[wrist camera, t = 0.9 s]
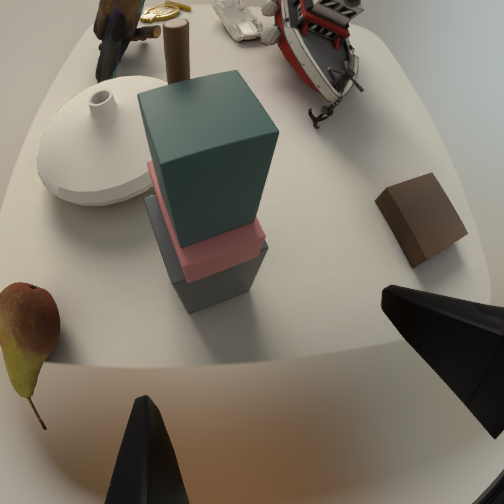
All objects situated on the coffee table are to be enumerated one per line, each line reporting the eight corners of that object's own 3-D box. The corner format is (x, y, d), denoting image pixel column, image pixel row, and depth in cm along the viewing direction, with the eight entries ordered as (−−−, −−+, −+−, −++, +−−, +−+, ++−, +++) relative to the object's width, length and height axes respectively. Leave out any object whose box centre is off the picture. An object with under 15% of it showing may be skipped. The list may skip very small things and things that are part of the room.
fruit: (-2, 290, 13) (-5, 436, 13) (74, 307, 18) (57, 438, 17) (-3, 267, 17) (-13, 394, 16) (57, 283, 21) (40, 400, 21)
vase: (49, 125, 27) (28, 82, 21) (176, 83, 31) (173, 34, 24) (52, 244, 23) (11, 206, 16) (217, 187, 26) (220, 133, 20)
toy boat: (316, 23, 42) (372, -38, 26) (340, 161, 36) (448, 93, 20) (248, -2, 37) (297, -77, 21) (242, 135, 31) (336, 20, 15)
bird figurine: (149, 88, 29) (156, -66, 16) (71, 99, 28) (74, -47, 15) (169, 77, 39) (173, -39, 27) (108, 83, 38) (110, -29, 26)
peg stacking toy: (258, 257, 15) (316, 109, 6) (187, 284, 14) (148, 150, 5) (217, 168, 16) (226, 9, 8) (154, 189, 15) (116, 32, 7)
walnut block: (454, 242, 28) (468, 233, 25) (411, 268, 26) (427, 259, 23) (420, 184, 30) (432, 172, 27) (374, 200, 28) (386, 187, 26)
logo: (191, 6, 38) (155, 22, 35) (191, 10, 39) (155, 25, 36) (167, 0, 39) (131, 15, 36) (167, 3, 40) (132, 18, 37)
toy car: (269, 30, 34) (264, 45, 38) (235, -12, 35) (233, 2, 38) (237, 35, 33) (234, 50, 37) (207, -8, 34) (205, 7, 37)
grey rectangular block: (249, 290, 23) (269, 247, 15) (188, 314, 22) (172, 284, 14) (224, 234, 25) (230, 168, 16) (166, 255, 24) (143, 197, 15)
